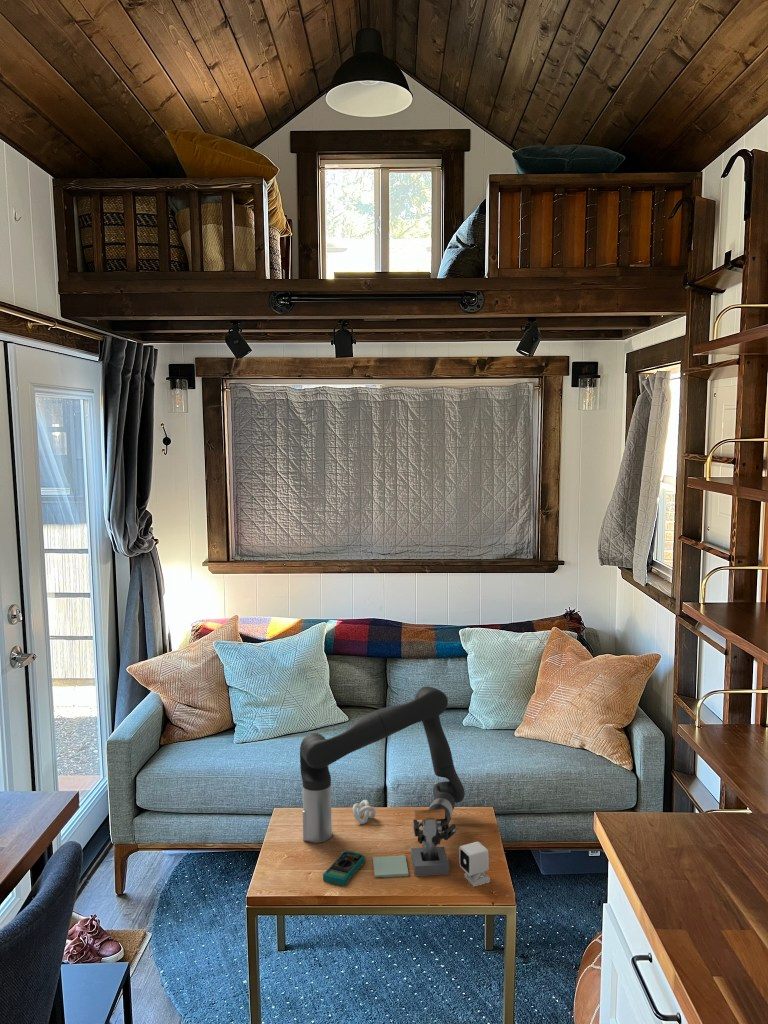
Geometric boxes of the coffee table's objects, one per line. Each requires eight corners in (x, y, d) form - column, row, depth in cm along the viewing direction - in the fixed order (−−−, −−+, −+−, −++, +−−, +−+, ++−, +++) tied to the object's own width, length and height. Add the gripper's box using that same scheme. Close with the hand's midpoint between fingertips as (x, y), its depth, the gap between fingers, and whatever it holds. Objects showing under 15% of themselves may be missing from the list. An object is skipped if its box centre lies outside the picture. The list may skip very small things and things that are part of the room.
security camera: (459, 878, 219) (459, 845, 219) (479, 872, 222) (479, 839, 222) (470, 889, 214) (470, 855, 213) (491, 883, 217) (491, 849, 216)
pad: (374, 877, 220) (374, 875, 220) (372, 859, 230) (372, 857, 230) (408, 876, 221) (408, 873, 220) (405, 857, 230) (405, 855, 230)
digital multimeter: (366, 862, 229) (366, 852, 229) (344, 888, 216) (344, 878, 215) (344, 857, 232) (344, 848, 232) (322, 882, 219) (321, 872, 218)
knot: (363, 828, 249) (363, 811, 248) (346, 821, 254) (345, 804, 254) (378, 819, 255) (378, 803, 254) (360, 812, 260) (360, 796, 259)
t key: (415, 870, 224) (415, 815, 222) (414, 862, 228) (413, 808, 226) (445, 868, 224) (445, 813, 223) (443, 861, 228) (443, 807, 227)
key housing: (415, 876, 221) (415, 866, 220) (411, 857, 231) (411, 848, 230) (449, 874, 221) (449, 864, 221) (443, 855, 231) (443, 846, 231)
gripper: (417, 800, 241) (404, 826, 224) (461, 806, 237) (451, 832, 220) (417, 823, 241) (404, 850, 225) (461, 828, 237) (451, 857, 221)
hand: (427, 841), depth 223 cm, fingers closed on t key, 4 cm apart
